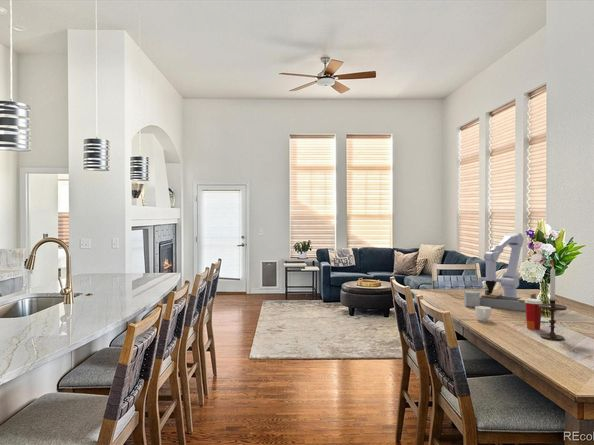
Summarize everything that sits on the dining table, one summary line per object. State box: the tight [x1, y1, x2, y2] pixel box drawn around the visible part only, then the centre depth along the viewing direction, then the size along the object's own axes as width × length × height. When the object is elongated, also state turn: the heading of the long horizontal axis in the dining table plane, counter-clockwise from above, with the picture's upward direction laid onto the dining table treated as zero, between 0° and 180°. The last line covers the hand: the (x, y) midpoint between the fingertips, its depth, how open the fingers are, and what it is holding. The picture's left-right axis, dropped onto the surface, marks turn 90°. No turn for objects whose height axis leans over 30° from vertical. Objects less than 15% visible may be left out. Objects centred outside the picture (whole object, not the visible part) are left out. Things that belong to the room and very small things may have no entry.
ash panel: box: [518, 293, 538, 302], centre depth 267 cm, size 15×8×4 cm, turn 138°
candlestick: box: [539, 260, 567, 342], centre depth 202 cm, size 11×11×35 cm
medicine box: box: [463, 291, 481, 308], centre depth 275 cm, size 8×4×9 cm, turn 84°
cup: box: [474, 306, 492, 322], centre depth 236 cm, size 8×10×7 cm
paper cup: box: [525, 298, 544, 331], centre depth 219 cm, size 8×8×14 cm
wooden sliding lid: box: [480, 288, 503, 298], centre depth 281 cm, size 15×8×4 cm, turn 138°
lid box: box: [480, 293, 526, 312], centre depth 275 cm, size 16×32×5 cm, turn 48°
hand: (490, 293), depth 281 cm, fingers closed
